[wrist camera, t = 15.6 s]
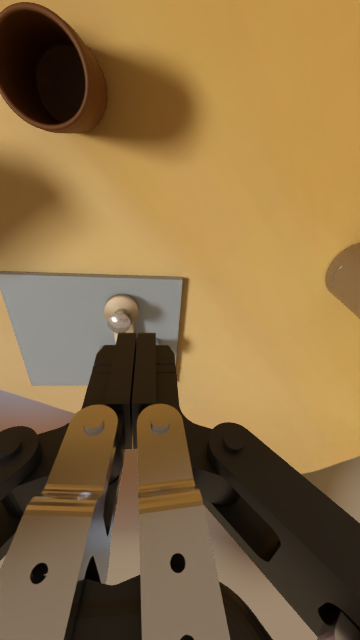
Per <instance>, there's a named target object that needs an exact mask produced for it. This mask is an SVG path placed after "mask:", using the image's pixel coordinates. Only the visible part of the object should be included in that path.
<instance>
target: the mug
mask: <svg viewBox="0 0 360 640" xmlns="http://www.w3.org/2000/svg"><path fill="white" fill-rule="evenodd" d="M0 94H1V95H2V97H3V99H4V100H5V101H6V103H7V104H8V105H9V107H10V108H11V109H12V110H13V111H14V112H15V113H16V114H17V115H18V116H19V117H20V118H22V119H23V120H24V121H26V122H27V123H29V124H31V125H33V126H35V127H37V128H40V129H43V130H46V131H49V132H54V133H82V132H86V131H88V130H90V129H92V128H93V127H95V126H96V125H97V124H98V122H99V121H100V120H101V118H102V116H103V114H104V111H105V108H106V103H107V88H106V82H105V78H104V75H103V73H102V70H101V68H100V66H99V64H98V62H97V60H96V59H95V57H94V56H93V54H92V53H91V52H90V50H89V49H88V47H87V46H86V45H85V43H84V42H83V41H82V39H81V38H80V37H79V36H78V34H77V33H76V32H75V31H74V30H73V28H72V27H71V26H70V25H69V24H68V23H66V22H65V21H64V20H63V19H62V18H60V17H59V16H58V15H57V14H55V13H54V12H53V11H51V10H49V9H48V8H46V7H44V6H41V5H39V4H35V3H30V2H20V3H15V4H12V5H10V6H8V7H6V8H5V9H4V10H3V11H2V12H0Z"/></svg>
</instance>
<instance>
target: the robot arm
mask: <svg viewBox="0 0 360 640" xmlns="http://www.w3.org/2000/svg"><path fill="white" fill-rule="evenodd" d="M326 286H327V288H328V290H329V291H330V292H331V293H332V294H333V295H334V296H335V297H336V298H337V299H338V300H340V301H341V302H342V303H343V304H344V305H345V306H346V307H347V308H348V309H349V310H351V311H352V312H353V313H354V314H355V315H356V316H357V317H358V318H360V243H358V244H355V245H352V246H351V247H349V248H347V249H345V250H344V251H342V252H341V253H340V254H339V255H338V256H337V257H336V258H335V259H334V260H333V262H332V263H331V264H330V266H329V268H328V270H327V274H326ZM132 436H133V446H134V449H135V448H137V454H138V495H139V496H138V497H139V539H140V575H139V576H136V577H134V578H131V579H129V580H127V581H124V582H122V583H120V584H117V585H113V586H111V585H106V580H107V573H108V566H109V557H110V541H111V533H112V529H113V523H114V517H115V511H116V505H117V500H118V494H119V488H120V482H121V476H122V468H123V462H124V461H123V460H124V452H125V449H131V448H132ZM203 504H204V505H205V506H206V508H207V509H208V510H209V511H210V512H211V513H212V515H213V516H214V517H215V518H216V519H217V520H218V522H219V523H220V524H221V525H222V526H223V527H224V529H226V531H227V532H228V533H229V534H230V536H231V537H232V538H233V539H234V540H235V541H236V542H237V544H238V545H239V546H240V547H241V548H242V550H243V551H244V552H245V553H246V554H247V555H248V557H249V558H250V559H251V560H252V561H253V562H254V563H255V565H256V566H257V567H258V568H259V569H260V570H261V572H262V573H263V574H264V575H265V576H266V577H267V579H268V580H269V581H270V582H271V583H272V584H273V586H274V587H275V588H276V589H277V590H278V591H279V593H280V594H281V595H282V596H283V597H284V598H285V600H286V601H287V602H288V603H289V604H290V605H291V607H292V608H293V609H294V610H295V611H296V612H297V614H298V615H299V616H300V617H301V618H302V619H303V621H304V622H305V623H306V624H307V625H308V626H309V628H310V629H311V630H312V631H313V632H314V633H315V634H316V636H317V637H318V639H317V640H360V523H358V522H357V521H356V520H355V519H354V518H353V517H351V516H350V515H349V514H348V513H347V512H345V511H344V510H343V509H342V508H341V507H339V506H338V505H337V504H336V503H335V502H333V501H332V500H331V499H330V498H329V497H327V496H326V495H325V494H324V493H323V492H321V491H320V490H319V489H318V488H316V487H315V486H314V485H313V484H311V482H309V481H308V480H307V479H306V478H305V477H303V476H302V475H301V474H300V473H299V472H297V471H296V470H295V469H294V468H293V467H291V466H290V465H289V464H288V463H287V462H285V461H284V460H283V459H282V458H281V457H279V456H278V455H277V454H276V453H275V452H273V451H272V450H271V449H270V448H269V447H268V446H266V445H265V444H264V443H263V442H262V441H260V440H259V439H258V438H257V437H256V436H254V435H253V434H252V433H251V432H250V431H248V430H247V429H246V428H244V427H243V426H241V425H238V424H236V423H229V422H228V423H221V424H219V425H217V426H216V427H214V428H213V429H210V428H207V427H203V426H200V425H197V424H194V423H192V422H191V421H189V420H188V419H187V418H186V417H185V416H184V415H183V414H182V412H181V410H180V407H179V399H178V388H177V376H176V366H175V354H174V352H173V351H172V350H171V348H170V347H169V345H156V333H138V337H137V333H127V332H118V336H117V341H116V345H104V346H103V347H102V348H101V349H100V350H99V352H98V353H97V354H96V358H95V362H94V366H93V369H92V374H91V377H90V380H89V384H88V388H87V391H86V395H85V399H84V403H83V406H82V409H81V410H80V411H79V412H77V413H76V414H75V416H73V418H72V419H71V421H70V423H68V424H66V425H65V426H63V427H61V428H58V429H55V430H51V431H48V432H45V433H41V434H38V435H37V434H36V432H35V431H34V430H32V429H31V428H29V427H24V426H17V427H12V428H8V429H6V430H4V431H1V432H0V560H1V559H2V558H3V557H4V556H5V555H6V557H5V559H4V562H3V564H2V567H1V569H0V640H273V639H272V638H271V637H270V635H269V634H268V632H267V631H266V630H265V628H264V627H263V626H262V624H261V623H260V622H259V620H258V619H257V617H256V616H255V615H254V613H253V612H252V611H251V609H250V608H249V607H248V606H247V605H246V604H245V603H244V601H243V600H242V599H241V598H240V597H239V596H238V595H237V594H235V593H234V592H233V591H232V590H231V589H229V588H228V587H227V586H225V585H224V584H222V583H221V582H219V580H218V575H217V570H216V565H215V560H214V555H213V550H212V545H211V540H210V535H209V530H208V525H207V520H206V515H205V510H204V505H203Z"/></svg>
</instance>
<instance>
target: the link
mask: <svg viewBox="0 0 360 640" xmlns="http://www.w3.org/2000/svg"><path fill="white" fill-rule="evenodd" d="M118 309H123V310H125V311H126V312H127V315H128V316H129V318H130V320H131V326H130V329H129V330H128V331H127V333H134V323H135V321H136V320H137V318H138V311H139V308H138V304H137V302H136V301H135V300H134V299H133V298H132V297H130V296H128V295H125V294H117V295H114V296H112V297H110V298H109V299H108V301H107V302H106V305H105V309H104V316H105V318H106V320H107V321H108V319H109V317H110V316H111V315H112V314H113V313H115V312H116V311H117V310H118ZM117 336H118V333H115V332H114V337H115V344H116V341H117Z"/></svg>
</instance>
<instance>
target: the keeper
mask: <svg viewBox="0 0 360 640" xmlns="http://www.w3.org/2000/svg"><path fill="white" fill-rule="evenodd" d="M130 326H131V320H130V318H129V316H128V315H127V312H126V311H125V310H123V309H118V310H117V311H116V312H115V313H113V314H112V315H111V316H110V317H109V319H108V327H109V329H110V330H111V331H113V332H115V333H118V332H127V331H128V330H129V329H130ZM156 345H161V341H160V340H159V339H157V338H156ZM103 346H104V345H100V346H99V350H100V349H101V348H102V347H103ZM99 350H98V352H99Z"/></svg>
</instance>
